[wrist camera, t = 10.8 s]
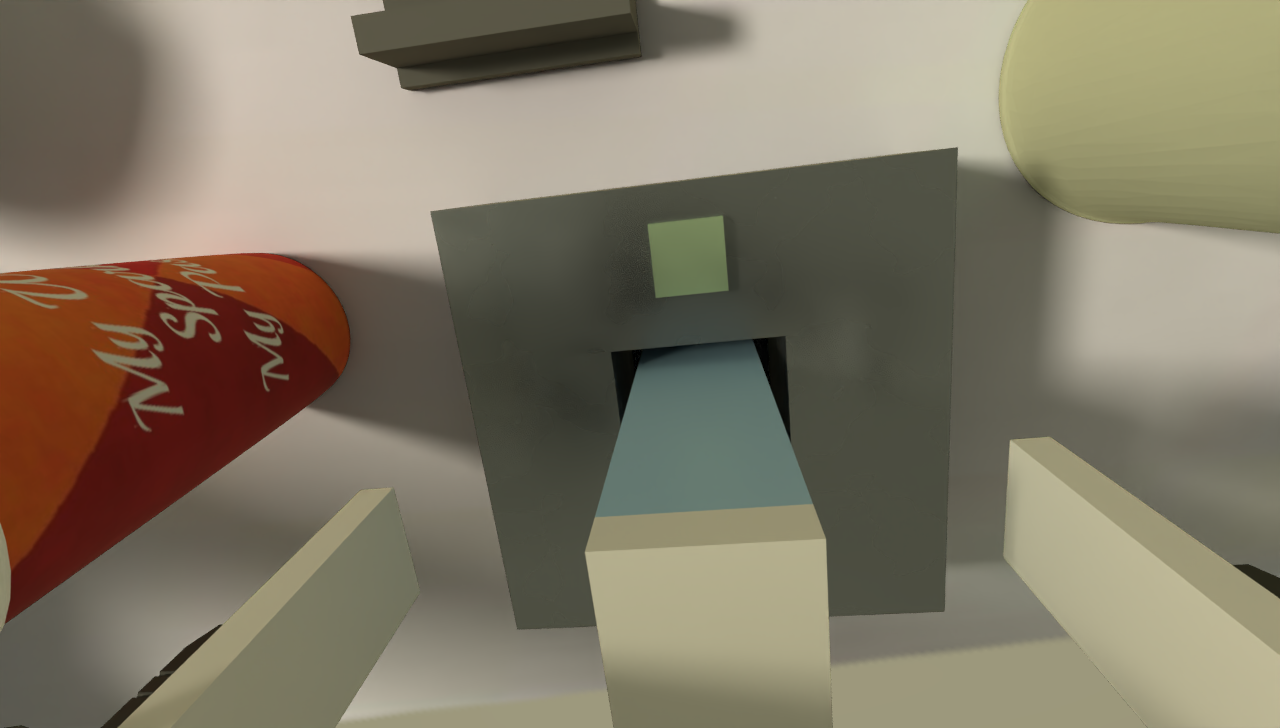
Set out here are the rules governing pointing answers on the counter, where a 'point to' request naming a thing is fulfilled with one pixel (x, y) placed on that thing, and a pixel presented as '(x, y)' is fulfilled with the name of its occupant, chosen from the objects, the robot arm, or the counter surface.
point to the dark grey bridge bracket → (494, 37)
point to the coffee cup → (142, 394)
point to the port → (716, 312)
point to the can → (1148, 109)
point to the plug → (709, 553)
